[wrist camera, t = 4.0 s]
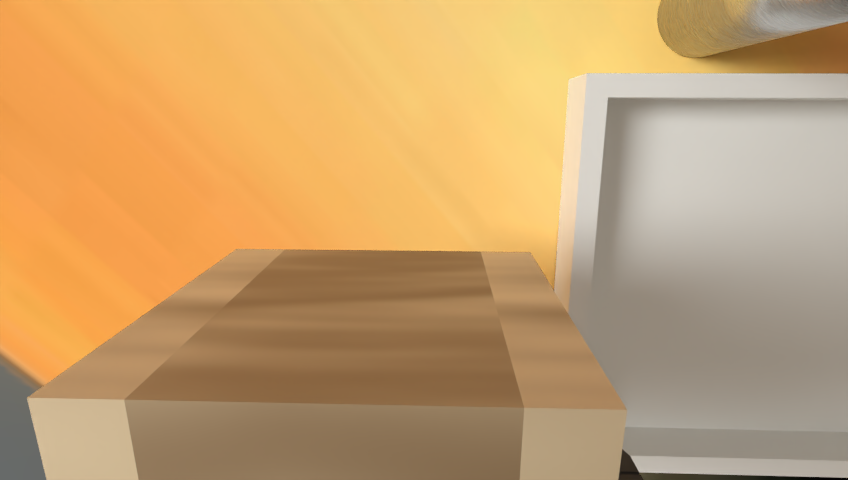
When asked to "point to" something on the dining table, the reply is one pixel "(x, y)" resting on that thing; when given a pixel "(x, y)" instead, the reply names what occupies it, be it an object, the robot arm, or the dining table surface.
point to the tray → (713, 264)
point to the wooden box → (340, 377)
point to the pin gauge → (740, 22)
